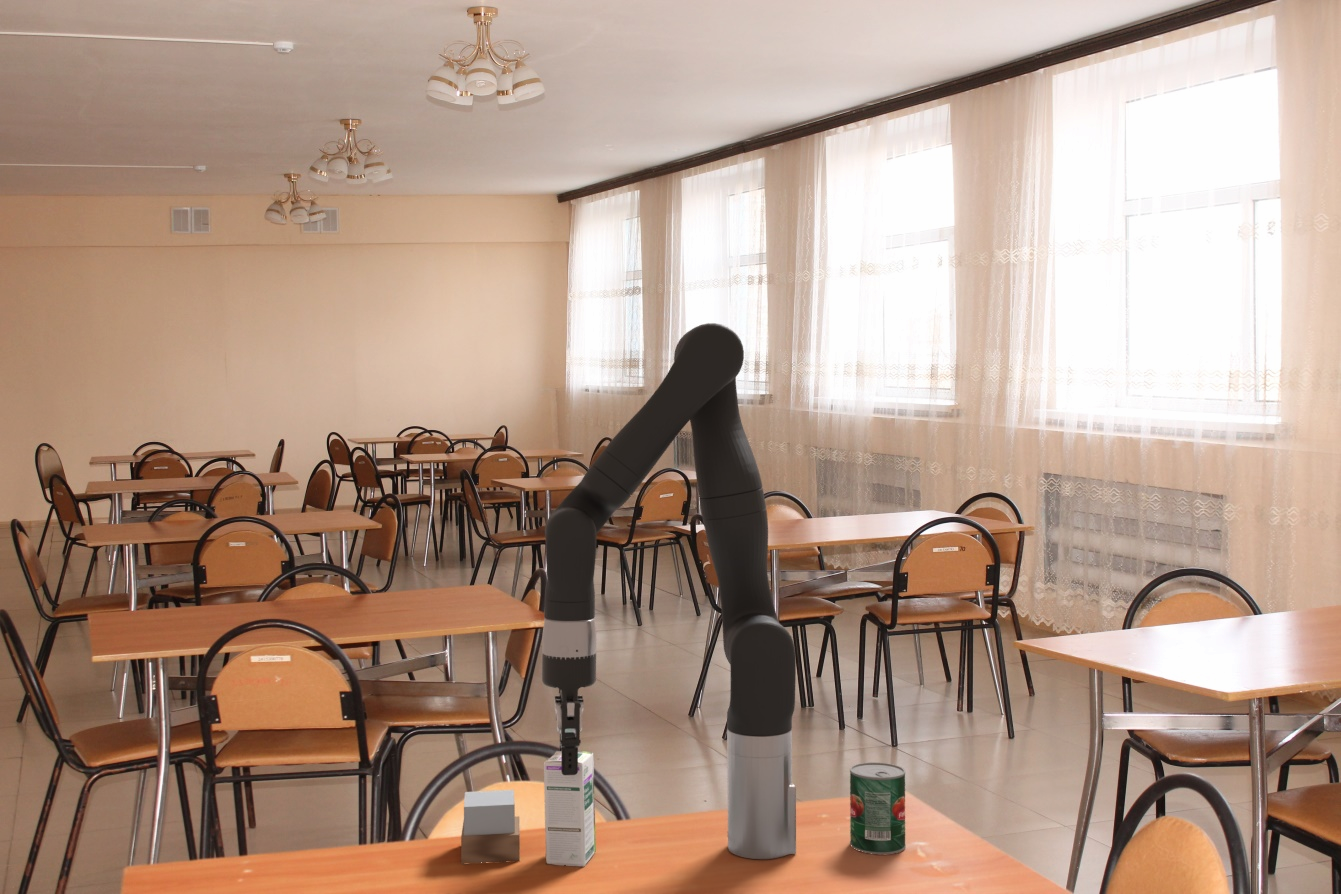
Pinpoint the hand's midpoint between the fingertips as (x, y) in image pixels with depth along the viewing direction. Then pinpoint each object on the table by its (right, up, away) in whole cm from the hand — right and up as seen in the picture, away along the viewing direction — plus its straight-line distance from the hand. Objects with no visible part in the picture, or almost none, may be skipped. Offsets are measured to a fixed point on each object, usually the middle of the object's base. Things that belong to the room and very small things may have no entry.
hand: (568, 765), depth 167 cm
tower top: (-11, -9, +3) cm, 15 cm away
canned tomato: (+44, -13, +5) cm, 46 cm away
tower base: (-11, -13, +3) cm, 18 cm away
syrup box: (0, -13, 0) cm, 13 cm away
